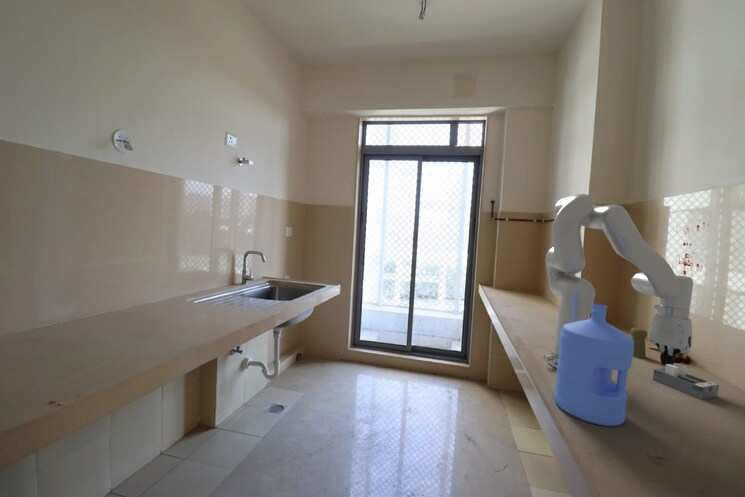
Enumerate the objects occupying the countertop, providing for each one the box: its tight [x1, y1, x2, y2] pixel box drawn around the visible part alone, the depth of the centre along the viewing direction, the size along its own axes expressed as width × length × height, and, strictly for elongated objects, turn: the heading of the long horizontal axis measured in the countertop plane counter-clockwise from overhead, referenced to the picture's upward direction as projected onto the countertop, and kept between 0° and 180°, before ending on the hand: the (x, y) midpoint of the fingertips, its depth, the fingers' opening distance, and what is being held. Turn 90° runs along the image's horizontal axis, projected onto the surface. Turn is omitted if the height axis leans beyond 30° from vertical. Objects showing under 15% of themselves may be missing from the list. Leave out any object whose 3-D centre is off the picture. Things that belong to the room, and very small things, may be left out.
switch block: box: [652, 367, 720, 400], centre depth 102 cm, size 8×12×4 cm, turn 19°
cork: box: [630, 327, 648, 359], centre depth 129 cm, size 6×6×11 cm
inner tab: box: [664, 364, 679, 377], centre depth 103 cm, size 2×2×4 cm
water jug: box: [553, 303, 634, 427], centre depth 84 cm, size 16×16×28 cm
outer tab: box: [673, 362, 688, 376], centre depth 105 cm, size 2×2×4 cm
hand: (666, 365), depth 108 cm, fingers closed
